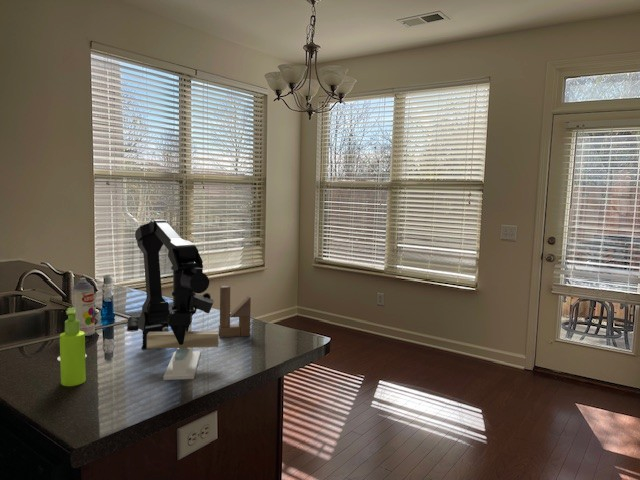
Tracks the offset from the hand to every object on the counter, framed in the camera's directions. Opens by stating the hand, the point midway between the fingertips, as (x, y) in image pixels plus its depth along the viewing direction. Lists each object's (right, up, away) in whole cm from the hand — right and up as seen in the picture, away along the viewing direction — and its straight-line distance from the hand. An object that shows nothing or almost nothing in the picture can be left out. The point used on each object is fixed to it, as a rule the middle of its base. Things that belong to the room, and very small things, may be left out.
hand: (183, 339), depth 139 cm
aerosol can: (-43, -4, +27) cm, 51 cm away
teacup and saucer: (-35, -7, +8) cm, 36 cm away
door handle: (-22, -4, +40) cm, 46 cm away
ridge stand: (0, -8, +1) cm, 8 cm away
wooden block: (+9, -5, +31) cm, 33 cm away
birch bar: (0, -2, 0) cm, 2 cm away
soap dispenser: (-25, -9, -13) cm, 30 cm away
